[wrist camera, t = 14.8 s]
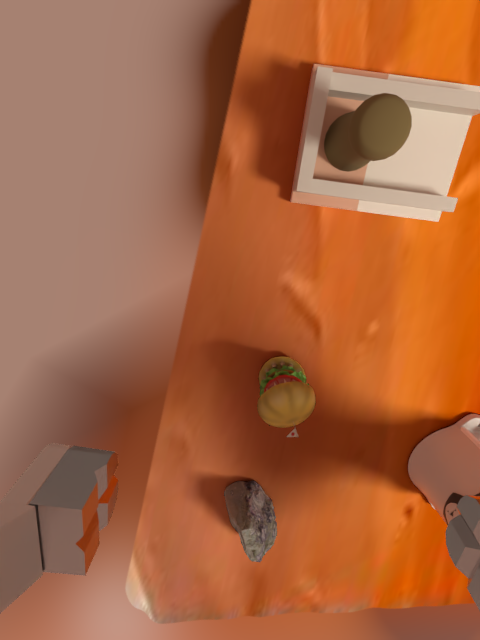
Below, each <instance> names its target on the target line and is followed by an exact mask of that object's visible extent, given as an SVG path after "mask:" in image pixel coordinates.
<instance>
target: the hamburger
mask: <svg viewBox="0 0 480 640" xmlns="http://www.w3.org/2000/svg"><path fill="white" fill-rule="evenodd" d="M259 385H260V398H259V399H258V404H257V410H258V413H259V415H260V417H261V418H262V419H263V420H264V422H266V423H267V424H269V426H270V425H271V426H275V427H280V428H285V427H293V426H294V427H295V425H297V424H300V423H302V422H304V420H306V419H307V418H308V417H309V416H310V415H311V413H312V412H313V410H314V407H315V404H316V398H315V393H314V390H313V388H312V387H311V386H309V384H306V375H305V373H304V369H303V368H302V367H301V365H300V364H299V363H298V362H297V361H295V360H294V359H292V358H290V357H285V356H279V357H275V358H271V359H269V360H268V361H267V362H266V363H265V364H264V365H263V366H262V369H261V370H260V372H259ZM286 437H298V434H297V431H296V428H295V429H294V430H293V431H292V432H291V433H290V434H288V435H287V436H286Z"/></svg>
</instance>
